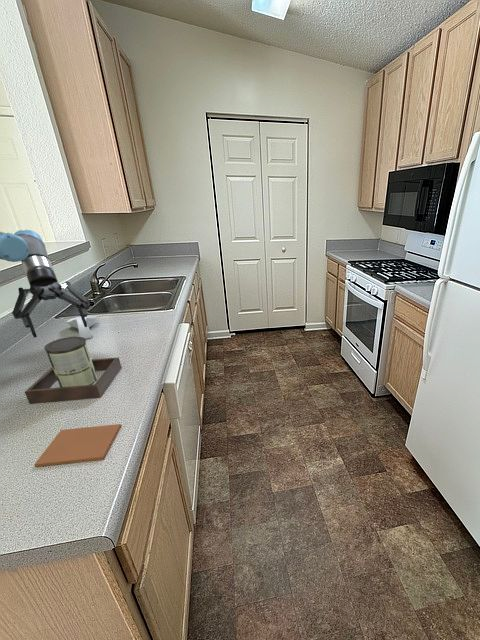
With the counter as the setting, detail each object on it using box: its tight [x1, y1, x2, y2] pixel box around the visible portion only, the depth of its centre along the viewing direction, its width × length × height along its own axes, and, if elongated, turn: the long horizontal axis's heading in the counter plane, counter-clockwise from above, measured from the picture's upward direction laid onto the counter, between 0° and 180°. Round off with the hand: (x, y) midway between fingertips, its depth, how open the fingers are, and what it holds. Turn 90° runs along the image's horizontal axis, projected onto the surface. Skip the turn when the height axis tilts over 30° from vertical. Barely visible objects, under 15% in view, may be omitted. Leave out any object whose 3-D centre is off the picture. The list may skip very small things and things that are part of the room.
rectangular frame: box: [24, 356, 123, 405], centre depth 103 cm, size 19×19×4 cm
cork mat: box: [33, 423, 122, 468], centre depth 78 cm, size 14×12×1 cm
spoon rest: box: [66, 314, 98, 340], centre depth 144 cm, size 24×12×7 cm, turn 34°
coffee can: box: [43, 336, 99, 387], centre depth 101 cm, size 10×10×14 cm
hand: (61, 330), depth 104 cm, fingers open, 13 cm apart
